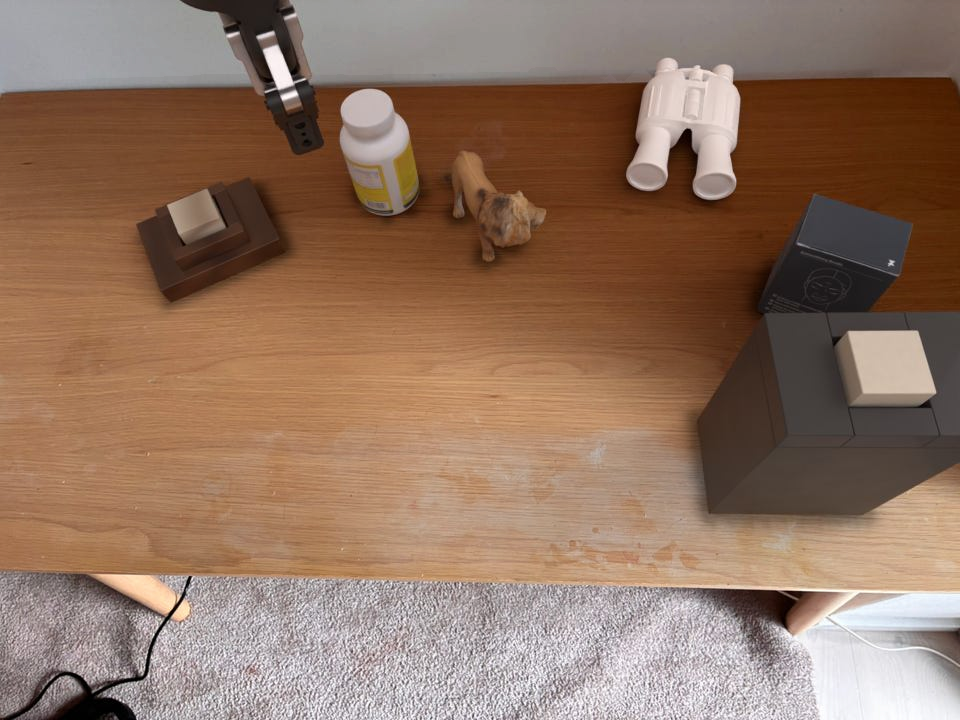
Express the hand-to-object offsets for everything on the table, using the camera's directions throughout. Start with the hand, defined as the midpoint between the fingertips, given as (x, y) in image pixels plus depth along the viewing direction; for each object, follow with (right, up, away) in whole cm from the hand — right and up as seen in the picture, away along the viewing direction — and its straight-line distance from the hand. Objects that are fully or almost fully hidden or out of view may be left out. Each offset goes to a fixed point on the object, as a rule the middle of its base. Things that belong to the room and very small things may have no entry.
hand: (307, 144), depth 47 cm
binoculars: (+33, +8, +26) cm, 43 cm away
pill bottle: (+2, +2, +24) cm, 25 cm away
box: (+42, -10, +16) cm, 46 cm away
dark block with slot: (+36, -23, +9) cm, 44 cm away
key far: (-15, -2, +19) cm, 25 cm away
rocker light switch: (-15, -3, +22) cm, 27 cm away
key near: (+35, -15, -7) cm, 39 cm away
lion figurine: (+13, -2, +22) cm, 25 cm away
